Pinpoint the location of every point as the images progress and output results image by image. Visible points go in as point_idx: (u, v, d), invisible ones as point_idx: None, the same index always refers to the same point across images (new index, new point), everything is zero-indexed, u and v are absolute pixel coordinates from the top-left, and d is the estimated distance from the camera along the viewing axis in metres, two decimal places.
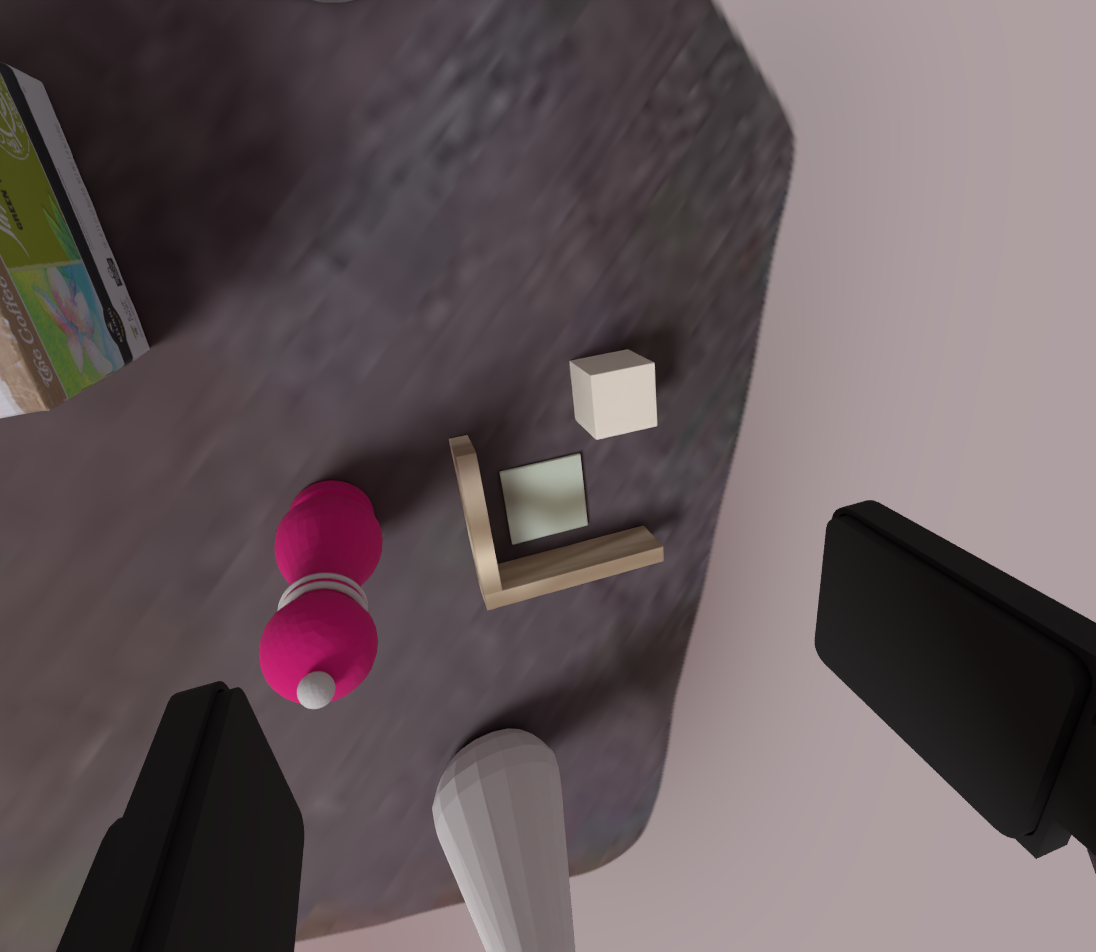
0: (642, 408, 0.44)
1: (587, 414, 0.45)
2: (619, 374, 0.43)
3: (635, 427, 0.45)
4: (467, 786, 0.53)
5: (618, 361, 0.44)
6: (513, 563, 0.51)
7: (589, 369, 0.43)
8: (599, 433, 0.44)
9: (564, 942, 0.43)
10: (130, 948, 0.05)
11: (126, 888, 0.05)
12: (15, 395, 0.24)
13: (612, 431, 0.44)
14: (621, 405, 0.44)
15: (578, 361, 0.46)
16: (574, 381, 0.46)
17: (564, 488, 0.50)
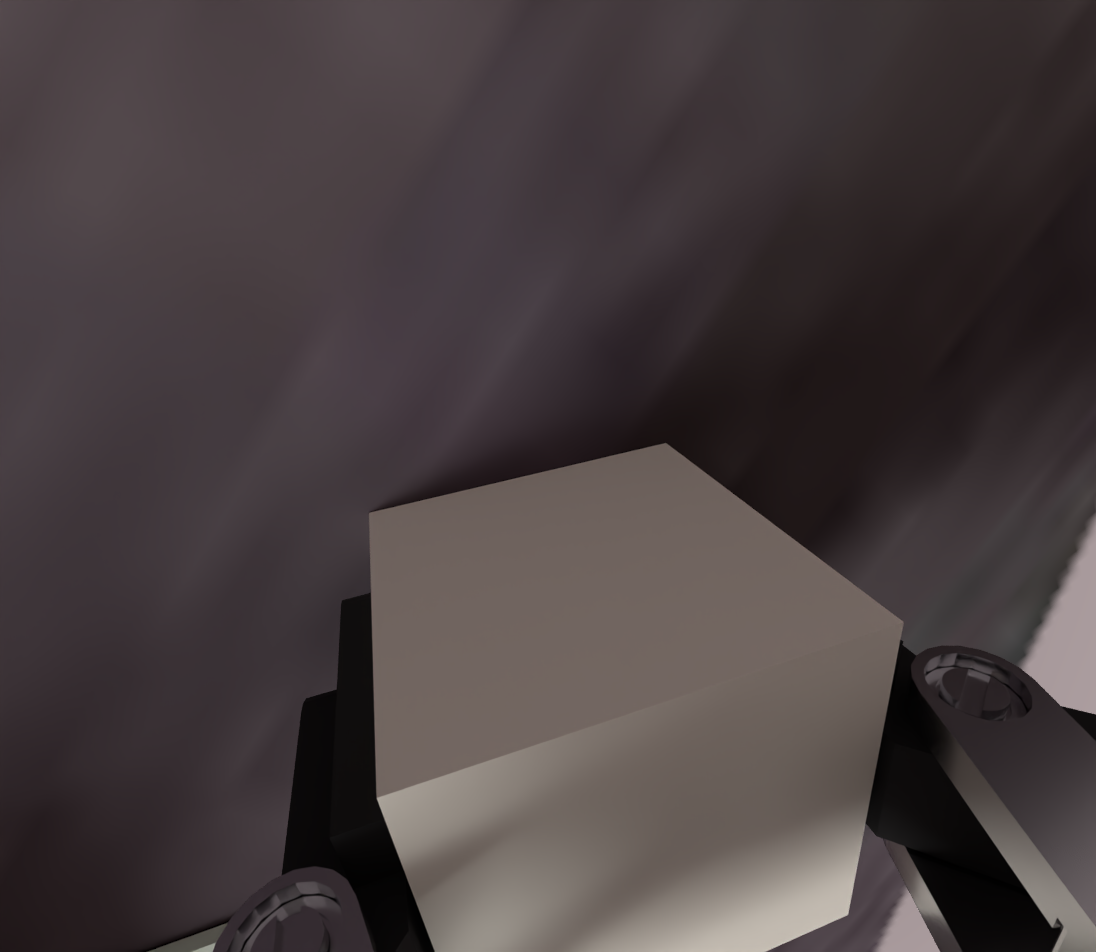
0: (781, 873, 0.07)
1: None
2: (638, 740, 0.05)
3: None
4: None
5: (623, 558, 0.07)
6: None
7: (422, 648, 0.06)
8: None
9: None
10: None
11: (362, 722, 0.06)
12: None
13: None
14: (648, 896, 0.06)
15: (407, 528, 0.08)
16: None
17: None
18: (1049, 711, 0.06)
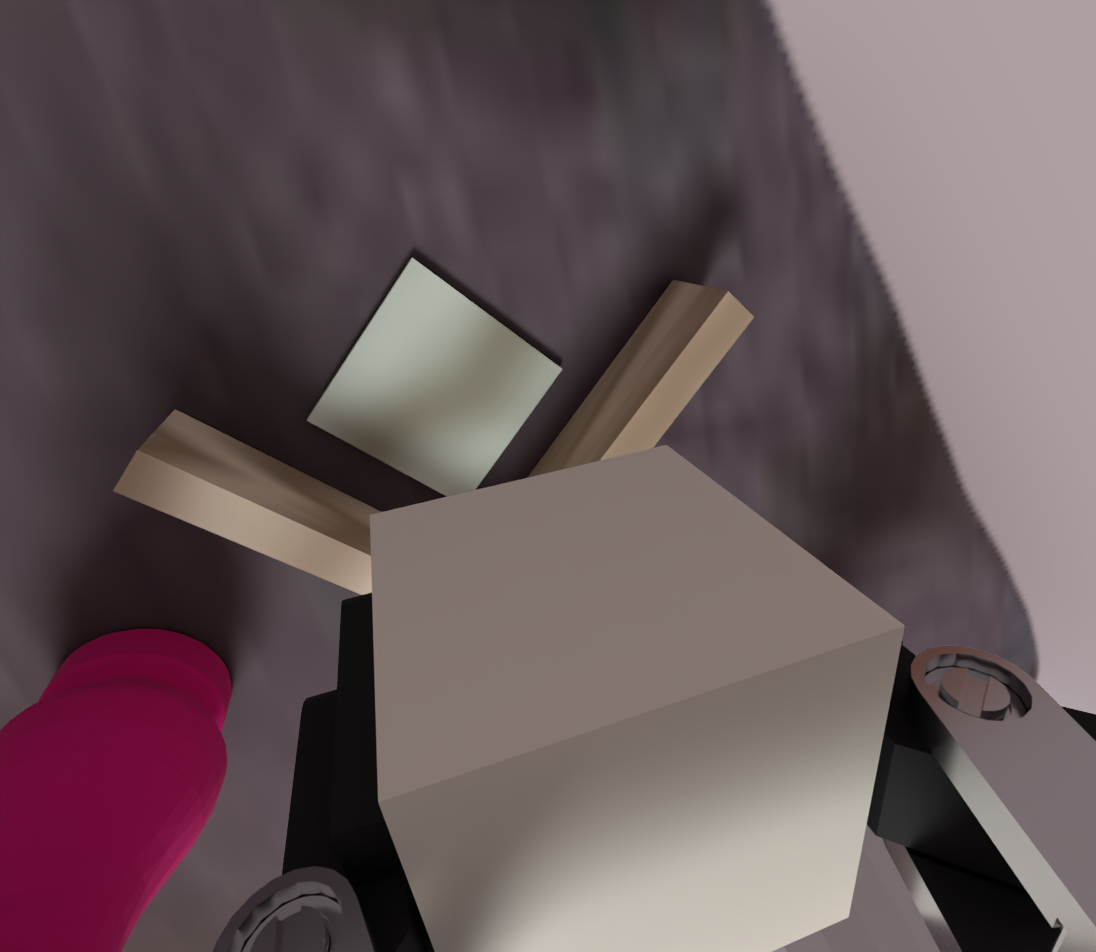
0: (782, 875, 0.07)
1: None
2: (639, 744, 0.05)
3: None
4: None
5: (625, 560, 0.07)
6: None
7: (422, 651, 0.06)
8: None
9: None
10: None
11: (362, 722, 0.06)
12: None
13: None
14: (649, 900, 0.06)
15: (407, 531, 0.08)
16: None
17: (451, 345, 0.22)
18: (1048, 711, 0.06)
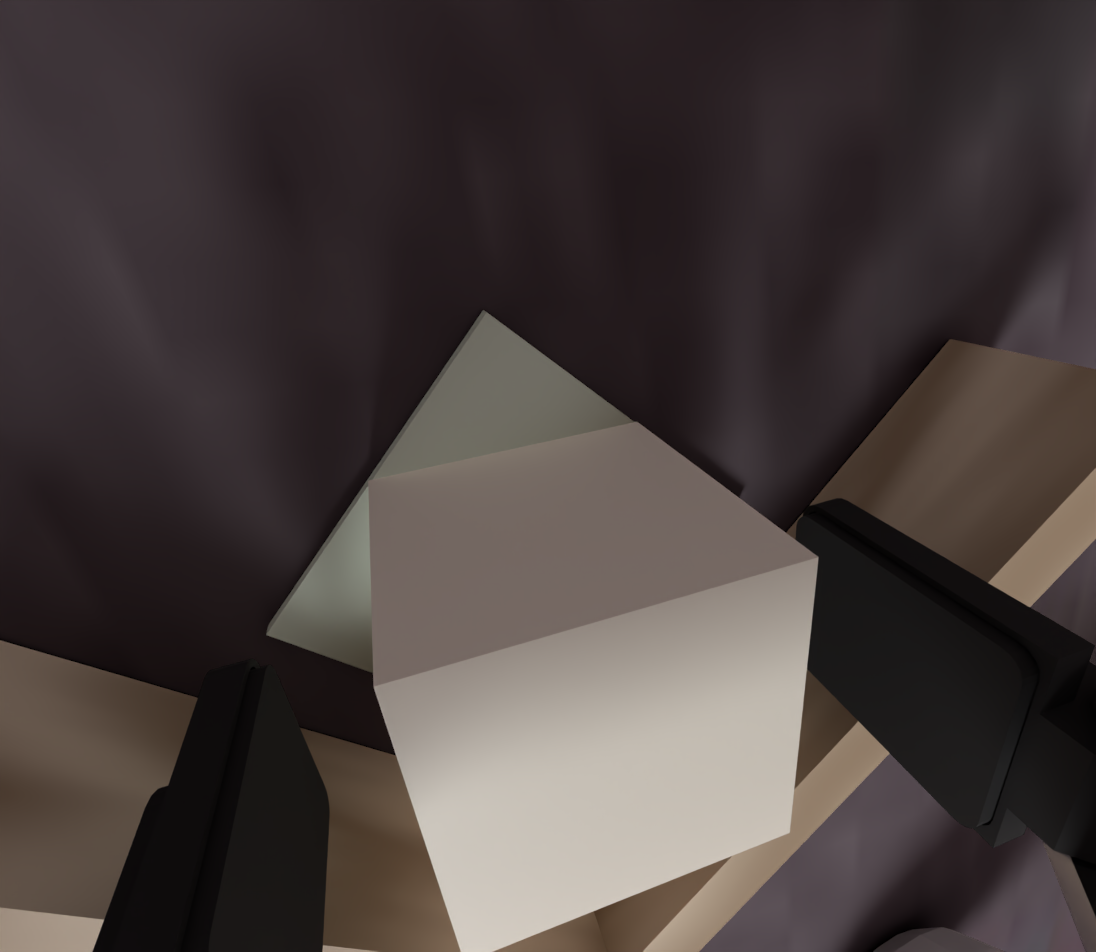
0: (725, 786, 0.08)
1: None
2: (591, 650, 0.06)
3: (681, 862, 0.08)
4: None
5: (590, 513, 0.08)
6: None
7: (413, 583, 0.07)
8: (480, 935, 0.08)
9: None
10: (186, 897, 0.05)
11: (178, 844, 0.05)
12: None
13: (556, 909, 0.08)
14: (606, 797, 0.07)
15: (401, 492, 0.09)
16: None
17: None
18: None
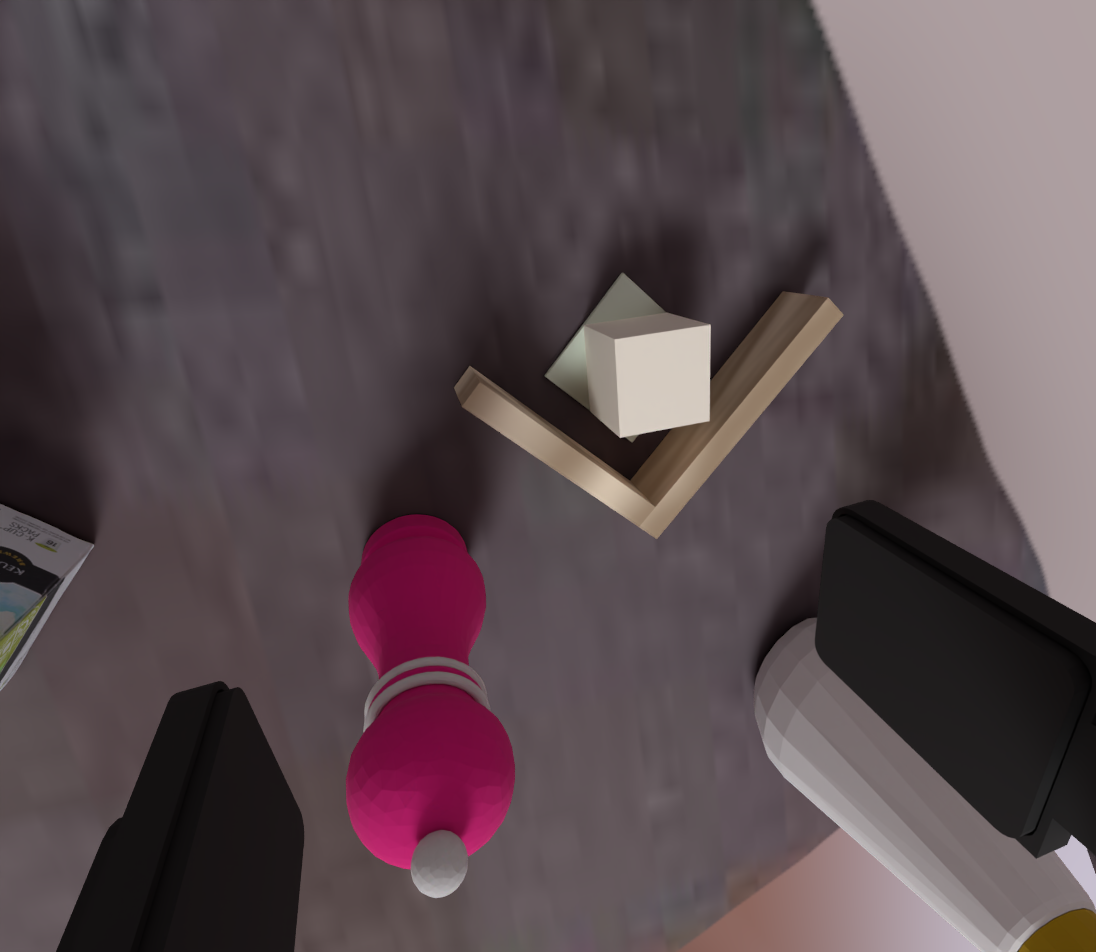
0: (689, 394, 0.30)
1: (607, 400, 0.31)
2: (658, 340, 0.28)
3: (677, 421, 0.30)
4: (788, 723, 0.40)
5: (655, 324, 0.30)
6: (651, 462, 0.36)
7: (613, 333, 0.29)
8: (624, 428, 0.30)
9: (1051, 881, 0.28)
10: (130, 948, 0.05)
11: (126, 888, 0.05)
12: None
13: (644, 426, 0.30)
14: (659, 388, 0.29)
15: (597, 325, 0.32)
16: (589, 355, 0.32)
17: None
18: None
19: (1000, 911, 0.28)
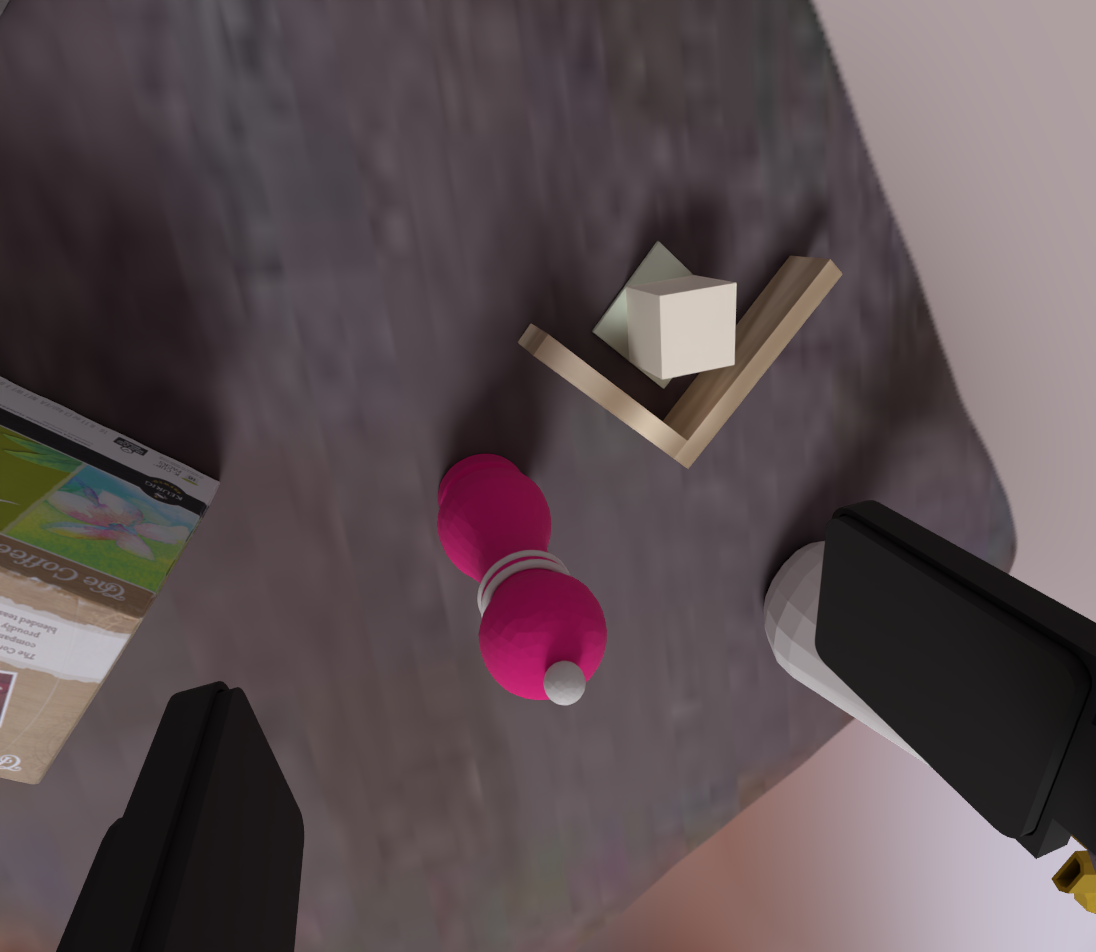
0: (718, 342, 0.36)
1: (650, 349, 0.37)
2: (694, 296, 0.34)
3: (708, 365, 0.36)
4: (796, 628, 0.47)
5: (688, 283, 0.36)
6: (680, 405, 0.42)
7: (655, 291, 0.35)
8: (666, 371, 0.36)
9: None
10: (130, 948, 0.05)
11: (126, 888, 0.05)
12: (108, 627, 0.23)
13: (681, 369, 0.36)
14: (694, 337, 0.35)
15: (637, 286, 0.38)
16: (631, 312, 0.38)
17: None
18: None
19: None
